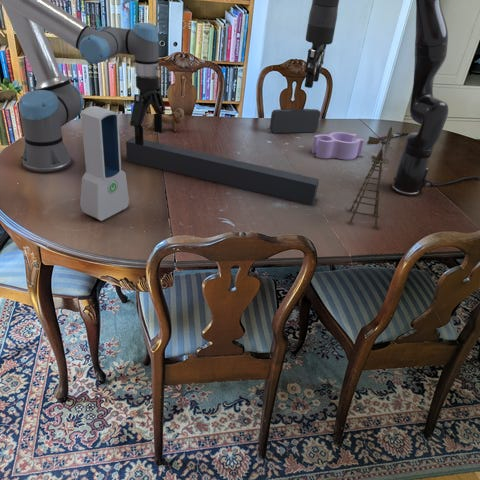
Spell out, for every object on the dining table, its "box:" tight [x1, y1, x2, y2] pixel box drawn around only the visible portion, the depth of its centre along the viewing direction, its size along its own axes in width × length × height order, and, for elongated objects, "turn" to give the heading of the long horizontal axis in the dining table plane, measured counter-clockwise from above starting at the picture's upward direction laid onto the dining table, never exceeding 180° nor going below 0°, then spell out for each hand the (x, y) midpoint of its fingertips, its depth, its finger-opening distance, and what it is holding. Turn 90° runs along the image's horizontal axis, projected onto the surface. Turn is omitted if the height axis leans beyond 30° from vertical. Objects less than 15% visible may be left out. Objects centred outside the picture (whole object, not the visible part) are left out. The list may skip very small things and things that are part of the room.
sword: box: [376, 132, 410, 141], centre depth 214 cm, size 31×3×1 cm, turn 126°
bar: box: [125, 136, 320, 206], centre depth 160 cm, size 68×5×7 cm, turn 71°
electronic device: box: [79, 105, 130, 222], centre depth 129 cm, size 12×8×30 cm, turn 148°
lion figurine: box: [149, 107, 185, 133], centre depth 195 cm, size 15×5×9 cm, turn 110°
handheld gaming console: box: [269, 108, 322, 134], centre depth 207 cm, size 23×3×10 cm, turn 108°
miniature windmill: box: [349, 126, 393, 228], centre depth 139 cm, size 9×8×30 cm
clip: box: [311, 131, 366, 161], centre depth 190 cm, size 20×12×7 cm, turn 109°
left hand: (149, 138), depth 163 cm, fingers open, 13 cm apart
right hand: (311, 84), depth 136 cm, fingers open, 8 cm apart
